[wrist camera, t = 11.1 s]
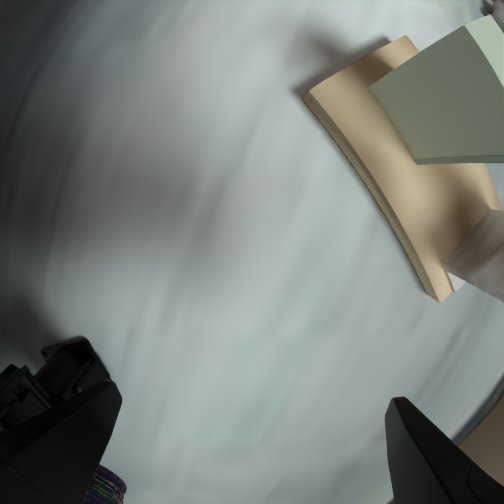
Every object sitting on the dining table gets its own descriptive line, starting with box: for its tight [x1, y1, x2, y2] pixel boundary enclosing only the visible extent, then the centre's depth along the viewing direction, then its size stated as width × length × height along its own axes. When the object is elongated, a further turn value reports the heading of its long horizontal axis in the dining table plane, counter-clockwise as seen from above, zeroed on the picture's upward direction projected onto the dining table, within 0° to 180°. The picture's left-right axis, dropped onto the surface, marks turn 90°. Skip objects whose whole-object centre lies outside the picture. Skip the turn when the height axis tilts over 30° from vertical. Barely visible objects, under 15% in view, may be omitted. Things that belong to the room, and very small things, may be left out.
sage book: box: [368, 14, 504, 165], centre depth 11 cm, size 3×6×10 cm, turn 38°
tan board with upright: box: [302, 35, 504, 303], centre depth 13 cm, size 10×18×10 cm, turn 38°
